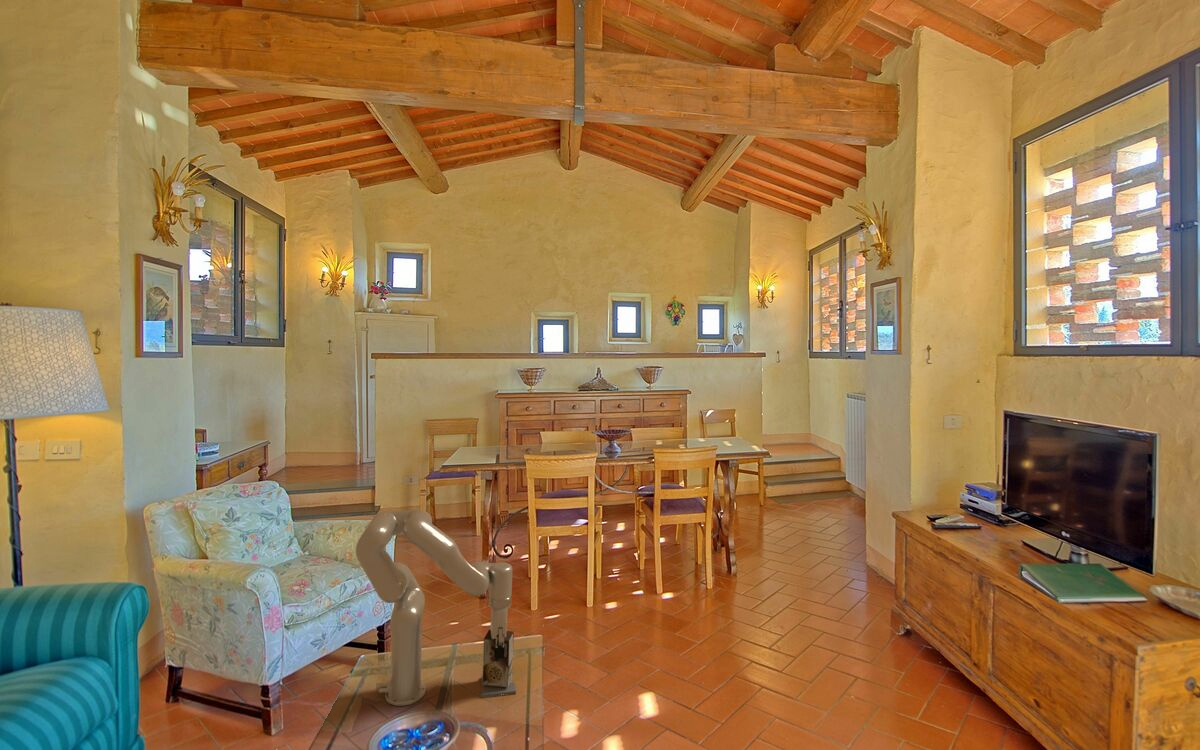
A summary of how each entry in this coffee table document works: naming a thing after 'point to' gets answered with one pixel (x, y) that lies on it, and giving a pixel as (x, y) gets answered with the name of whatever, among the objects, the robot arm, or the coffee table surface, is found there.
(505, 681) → the coffee box
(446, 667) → the coffee table surface
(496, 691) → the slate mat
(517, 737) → the coffee table surface
